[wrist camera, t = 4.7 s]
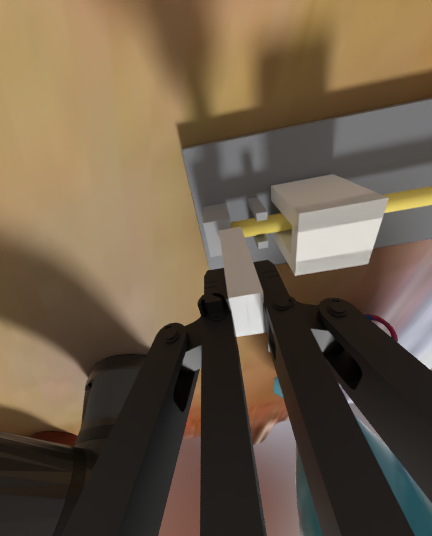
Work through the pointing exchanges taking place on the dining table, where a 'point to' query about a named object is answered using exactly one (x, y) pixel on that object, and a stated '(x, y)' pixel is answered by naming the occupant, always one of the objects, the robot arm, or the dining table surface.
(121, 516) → the robot arm
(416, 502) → the vase
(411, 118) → the linear slide mechanism
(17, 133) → the dining table surface
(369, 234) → the sleeve
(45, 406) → the dining table surface
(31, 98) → the dining table surface
